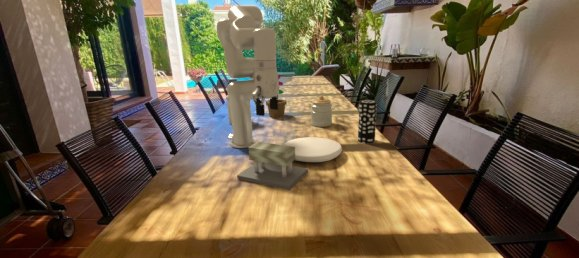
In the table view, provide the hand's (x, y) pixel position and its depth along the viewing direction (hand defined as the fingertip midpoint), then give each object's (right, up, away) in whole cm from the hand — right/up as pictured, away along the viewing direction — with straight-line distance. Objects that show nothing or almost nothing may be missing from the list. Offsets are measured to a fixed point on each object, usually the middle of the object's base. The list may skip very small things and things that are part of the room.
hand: (267, 112), depth 112 cm
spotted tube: (+47, -12, +40) cm, 63 cm away
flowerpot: (-1, +3, +95) cm, 96 cm away
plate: (+18, -18, +24) cm, 35 cm away
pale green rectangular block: (+2, -18, +2) cm, 18 cm away
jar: (+27, -4, +72) cm, 77 cm away
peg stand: (+2, -24, +4) cm, 24 cm away
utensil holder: (-23, -2, +82) cm, 85 cm away
